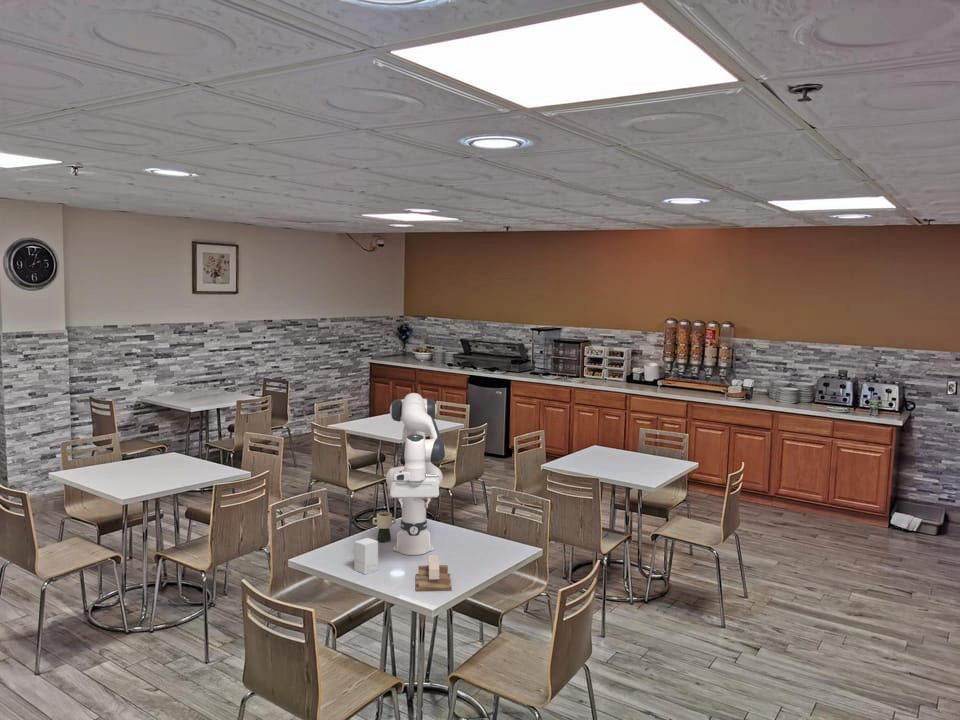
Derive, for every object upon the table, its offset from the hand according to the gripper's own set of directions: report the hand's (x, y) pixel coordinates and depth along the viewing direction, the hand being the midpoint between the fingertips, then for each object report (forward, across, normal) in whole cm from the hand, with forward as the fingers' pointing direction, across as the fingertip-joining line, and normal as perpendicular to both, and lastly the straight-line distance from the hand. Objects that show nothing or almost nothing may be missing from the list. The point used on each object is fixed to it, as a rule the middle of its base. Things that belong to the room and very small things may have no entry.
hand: (414, 507), depth 292 cm
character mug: (+29, +14, -46) cm, 56 cm away
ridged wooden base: (+29, -8, +8) cm, 31 cm away
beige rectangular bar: (+24, -8, +8) cm, 27 cm away
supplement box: (+29, +20, -8) cm, 36 cm away
